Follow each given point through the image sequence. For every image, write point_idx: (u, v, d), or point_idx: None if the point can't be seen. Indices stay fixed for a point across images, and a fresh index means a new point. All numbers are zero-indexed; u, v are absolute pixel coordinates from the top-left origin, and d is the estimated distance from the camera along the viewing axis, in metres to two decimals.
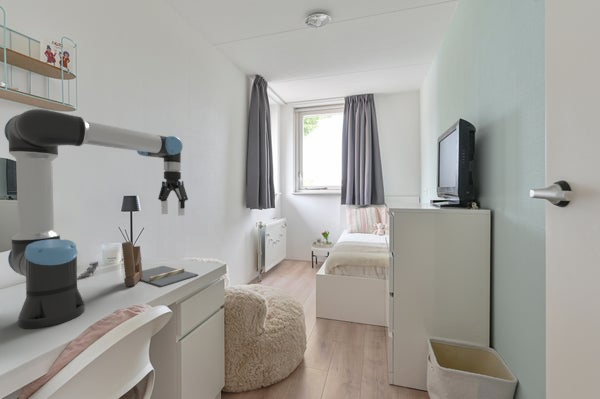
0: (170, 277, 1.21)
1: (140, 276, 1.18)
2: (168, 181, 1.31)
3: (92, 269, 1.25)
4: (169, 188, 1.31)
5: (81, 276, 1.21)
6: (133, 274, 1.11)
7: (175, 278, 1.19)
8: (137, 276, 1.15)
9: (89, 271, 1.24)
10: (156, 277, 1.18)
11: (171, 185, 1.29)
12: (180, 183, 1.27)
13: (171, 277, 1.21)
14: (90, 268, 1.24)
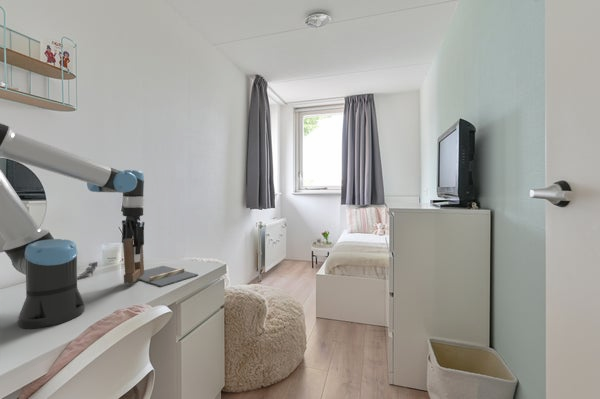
0: (170, 277, 1.21)
1: (141, 273, 1.18)
2: (128, 218, 1.15)
3: (91, 269, 1.24)
4: (129, 226, 1.14)
5: (80, 276, 1.21)
6: (132, 271, 1.11)
7: (175, 278, 1.19)
8: (137, 273, 1.14)
9: (88, 271, 1.23)
10: (156, 277, 1.18)
11: (130, 224, 1.12)
12: (140, 225, 1.11)
13: (171, 277, 1.21)
14: (89, 268, 1.24)
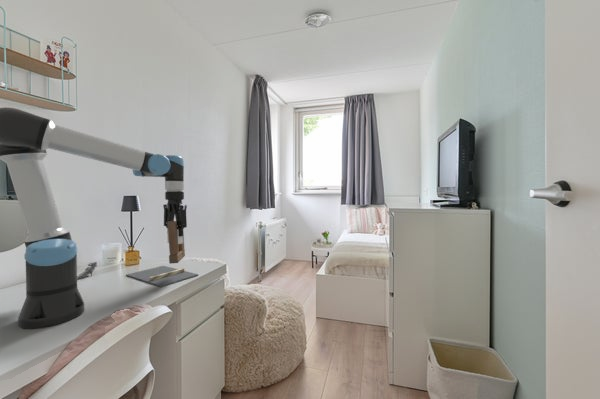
0: (170, 277, 1.21)
1: (183, 255, 1.23)
2: (170, 202, 1.19)
3: (91, 269, 1.24)
4: (171, 209, 1.19)
5: (79, 276, 1.21)
6: (177, 252, 1.16)
7: (175, 278, 1.19)
8: (180, 254, 1.19)
9: (87, 271, 1.23)
10: (156, 277, 1.18)
11: (173, 207, 1.17)
12: (183, 208, 1.15)
13: (171, 277, 1.21)
14: (89, 268, 1.24)
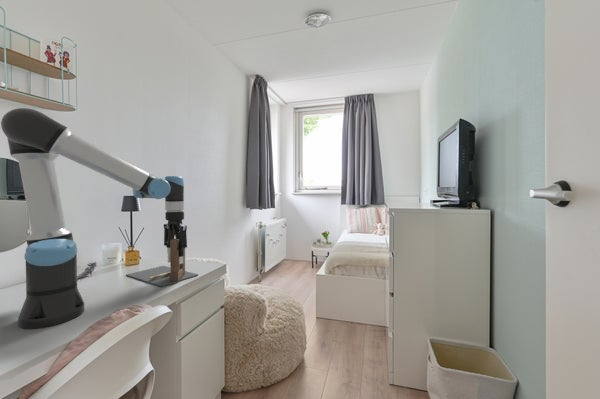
0: None
1: (183, 273, 1.23)
2: (170, 222, 1.19)
3: (90, 269, 1.24)
4: (171, 230, 1.19)
5: (79, 276, 1.21)
6: (178, 270, 1.16)
7: None
8: (181, 272, 1.19)
9: (87, 271, 1.23)
10: (156, 277, 1.18)
11: (173, 228, 1.17)
12: (183, 229, 1.16)
13: None
14: (88, 268, 1.24)
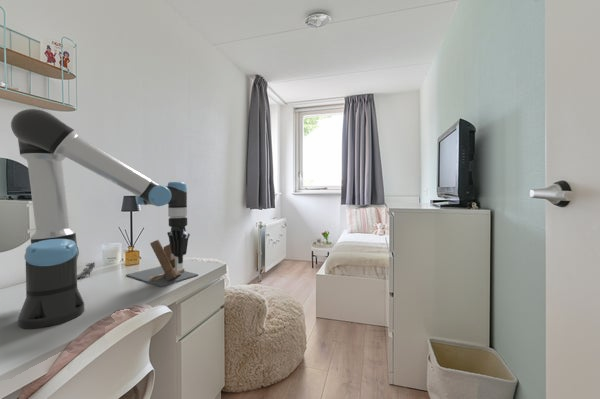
0: None
1: (180, 270, 1.23)
2: (173, 228, 1.18)
3: (88, 270, 1.23)
4: (174, 236, 1.18)
5: (77, 277, 1.20)
6: (170, 268, 1.16)
7: (175, 278, 1.19)
8: None
9: (85, 272, 1.22)
10: (156, 277, 1.18)
11: (176, 234, 1.16)
12: (185, 237, 1.15)
13: None
14: (86, 269, 1.23)
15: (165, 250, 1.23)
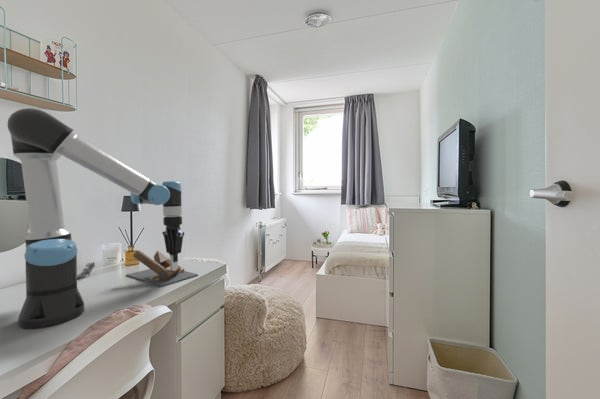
0: None
1: None
2: (168, 227, 1.20)
3: (88, 270, 1.23)
4: (169, 235, 1.19)
5: (77, 277, 1.20)
6: (161, 268, 1.17)
7: (175, 278, 1.19)
8: (169, 268, 1.19)
9: (85, 272, 1.22)
10: (156, 277, 1.18)
11: (171, 233, 1.17)
12: (180, 235, 1.16)
13: (171, 277, 1.21)
14: (86, 269, 1.23)
15: (155, 258, 1.25)
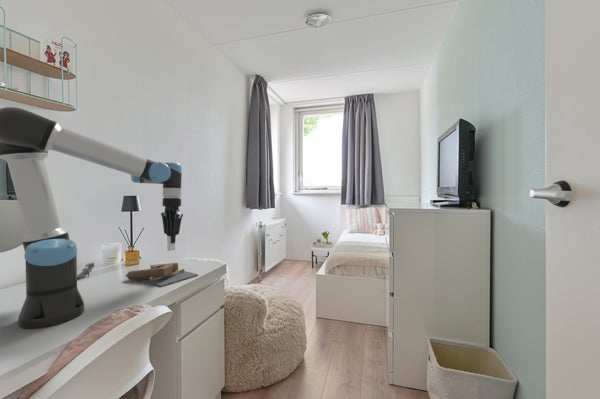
0: (170, 277, 1.21)
1: (171, 264, 1.23)
2: (167, 208, 1.20)
3: (88, 270, 1.23)
4: (168, 216, 1.20)
5: None
6: (155, 269, 1.17)
7: (175, 278, 1.19)
8: (164, 266, 1.20)
9: (85, 272, 1.22)
10: (156, 277, 1.18)
11: (169, 214, 1.18)
12: (178, 217, 1.17)
13: (171, 277, 1.21)
14: (86, 269, 1.23)
15: None
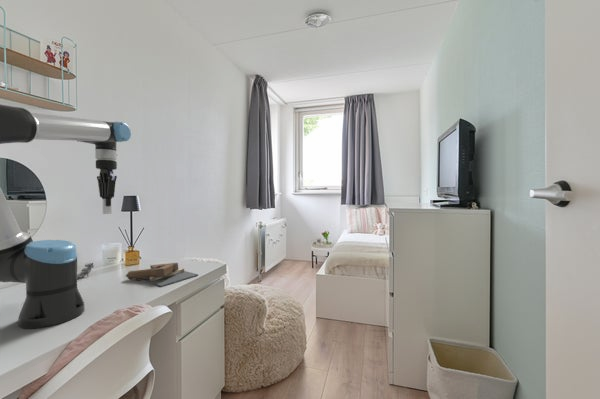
0: (170, 277, 1.21)
1: (171, 264, 1.23)
2: (101, 171, 1.18)
3: (87, 270, 1.23)
4: None
5: None
6: (155, 269, 1.17)
7: (175, 278, 1.19)
8: (164, 266, 1.20)
9: (84, 272, 1.22)
10: (156, 277, 1.18)
11: (103, 176, 1.16)
12: (112, 179, 1.15)
13: (171, 277, 1.21)
14: (85, 269, 1.22)
15: None
